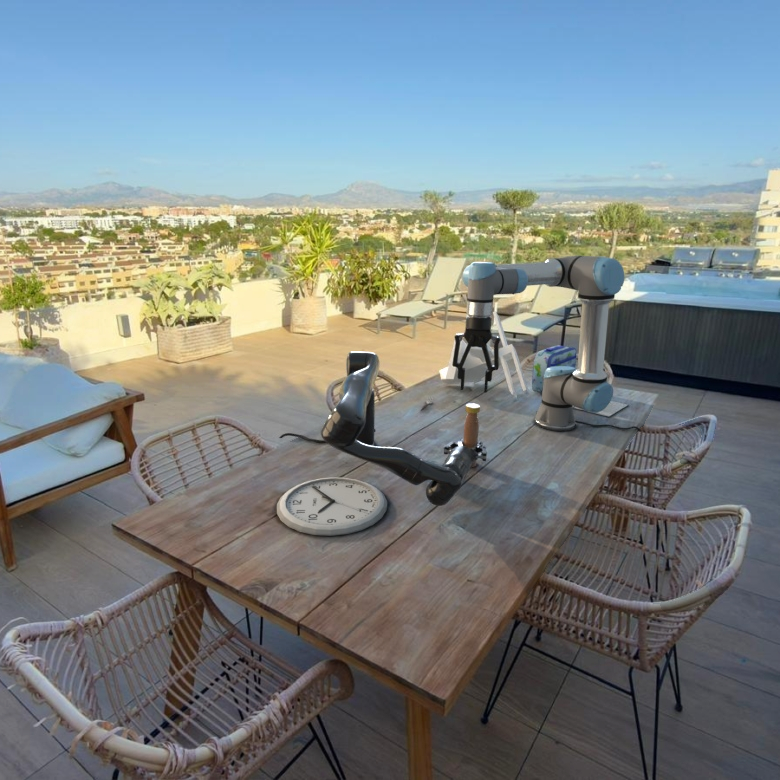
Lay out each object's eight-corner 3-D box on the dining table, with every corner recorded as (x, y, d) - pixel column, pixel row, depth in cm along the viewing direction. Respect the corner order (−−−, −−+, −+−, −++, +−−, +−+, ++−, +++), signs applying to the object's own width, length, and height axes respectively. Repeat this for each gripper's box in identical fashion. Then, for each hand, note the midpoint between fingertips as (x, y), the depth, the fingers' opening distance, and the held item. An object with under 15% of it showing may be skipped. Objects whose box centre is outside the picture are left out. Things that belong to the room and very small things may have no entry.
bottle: (467, 468, 166) (471, 410, 160) (458, 462, 170) (462, 405, 164) (478, 465, 168) (483, 407, 162) (470, 460, 172) (474, 403, 166)
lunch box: (548, 398, 236) (553, 353, 229) (527, 393, 243) (531, 349, 237) (575, 387, 253) (581, 344, 247) (555, 382, 260) (560, 341, 254)
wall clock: (392, 527, 129) (268, 531, 127) (391, 533, 130) (269, 537, 127) (383, 473, 158) (282, 475, 155) (383, 478, 158) (282, 480, 156)
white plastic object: (461, 429, 252) (437, 405, 227) (444, 352, 274) (420, 323, 250) (535, 404, 240) (518, 377, 215) (510, 326, 262) (492, 293, 237)
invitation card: (608, 416, 214) (573, 407, 224) (608, 416, 214) (573, 408, 224) (628, 404, 229) (594, 396, 238) (628, 405, 229) (594, 397, 238)
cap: (471, 414, 161) (471, 408, 160) (462, 409, 164) (463, 404, 164) (482, 412, 163) (482, 406, 162) (473, 408, 166) (474, 402, 166)
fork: (417, 411, 216) (418, 406, 216) (428, 400, 231) (428, 395, 230) (423, 412, 215) (424, 407, 215) (434, 400, 230) (434, 396, 229)
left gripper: (483, 455, 151) (495, 434, 166) (436, 447, 156) (451, 428, 171) (481, 478, 153) (493, 456, 168) (435, 470, 158) (450, 449, 173)
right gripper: (513, 315, 156) (506, 389, 163) (448, 312, 160) (444, 383, 167) (512, 319, 149) (505, 396, 156) (444, 315, 154) (440, 390, 160)
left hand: (472, 442), depth 169 cm, fingers closed on bottle, 4 cm apart
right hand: (473, 389), depth 162 cm, fingers open, 6 cm apart
